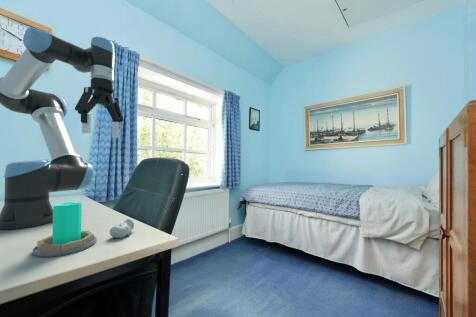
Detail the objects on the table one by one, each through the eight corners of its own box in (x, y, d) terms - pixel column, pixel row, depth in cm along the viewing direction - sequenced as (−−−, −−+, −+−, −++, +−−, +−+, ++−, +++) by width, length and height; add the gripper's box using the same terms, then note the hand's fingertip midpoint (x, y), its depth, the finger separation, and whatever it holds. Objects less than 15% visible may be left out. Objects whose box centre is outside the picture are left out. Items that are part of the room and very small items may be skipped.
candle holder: (29, 247, 55) (29, 238, 55) (88, 234, 65) (88, 227, 65) (37, 262, 46) (37, 252, 46) (103, 245, 56) (103, 236, 56)
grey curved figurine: (119, 244, 60) (104, 237, 61) (137, 234, 68) (124, 228, 69) (123, 230, 60) (108, 224, 61) (141, 222, 68) (128, 216, 69)
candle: (68, 247, 53) (69, 200, 53) (45, 247, 53) (46, 200, 53) (86, 239, 59) (87, 196, 59) (65, 239, 59) (66, 196, 59)
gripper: (81, 64, 67) (80, 130, 67) (132, 90, 92) (132, 138, 91) (61, 66, 69) (60, 130, 68) (117, 91, 93) (117, 139, 93)
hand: (101, 135), depth 80 cm, fingers open, 13 cm apart
